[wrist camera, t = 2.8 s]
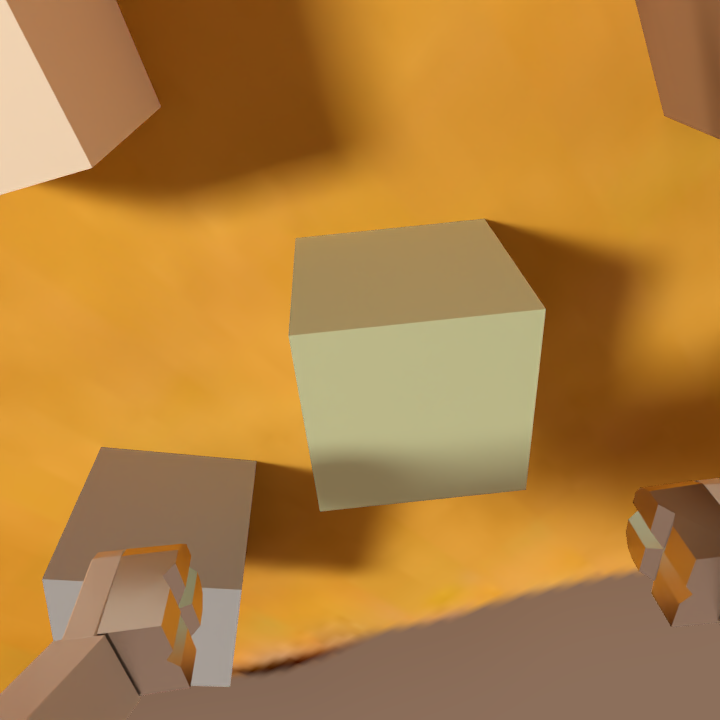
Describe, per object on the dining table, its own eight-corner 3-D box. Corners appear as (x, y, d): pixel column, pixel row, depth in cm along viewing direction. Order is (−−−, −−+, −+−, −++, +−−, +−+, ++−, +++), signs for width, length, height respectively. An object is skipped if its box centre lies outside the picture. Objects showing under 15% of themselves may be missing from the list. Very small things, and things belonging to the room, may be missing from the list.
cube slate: (257, 459, 20) (241, 589, 16) (245, 553, 22) (229, 687, 18) (102, 445, 19) (42, 579, 15) (109, 545, 22) (61, 682, 17)
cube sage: (483, 217, 15) (545, 308, 11) (477, 371, 18) (525, 489, 14) (296, 237, 15) (288, 335, 11) (319, 387, 18) (319, 511, 14)
